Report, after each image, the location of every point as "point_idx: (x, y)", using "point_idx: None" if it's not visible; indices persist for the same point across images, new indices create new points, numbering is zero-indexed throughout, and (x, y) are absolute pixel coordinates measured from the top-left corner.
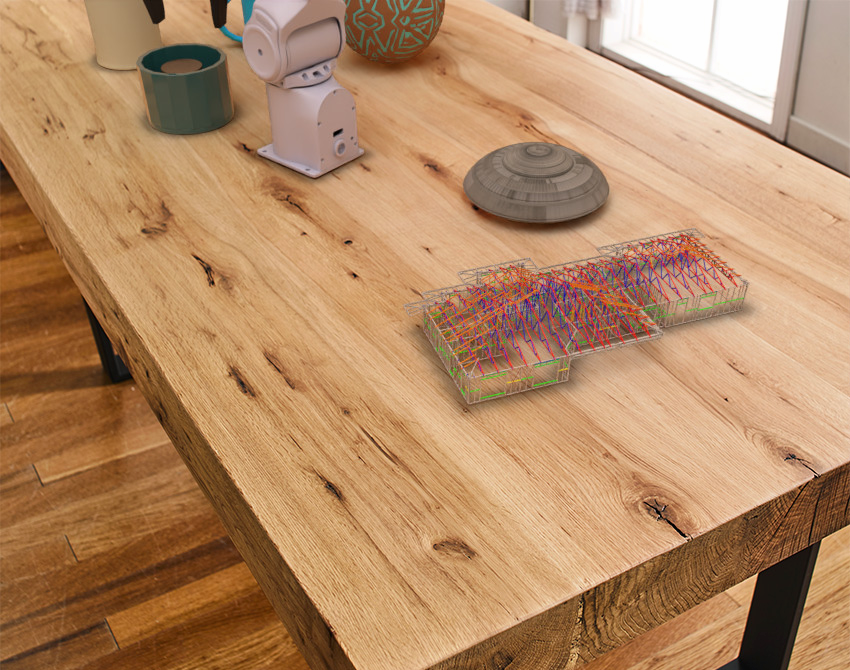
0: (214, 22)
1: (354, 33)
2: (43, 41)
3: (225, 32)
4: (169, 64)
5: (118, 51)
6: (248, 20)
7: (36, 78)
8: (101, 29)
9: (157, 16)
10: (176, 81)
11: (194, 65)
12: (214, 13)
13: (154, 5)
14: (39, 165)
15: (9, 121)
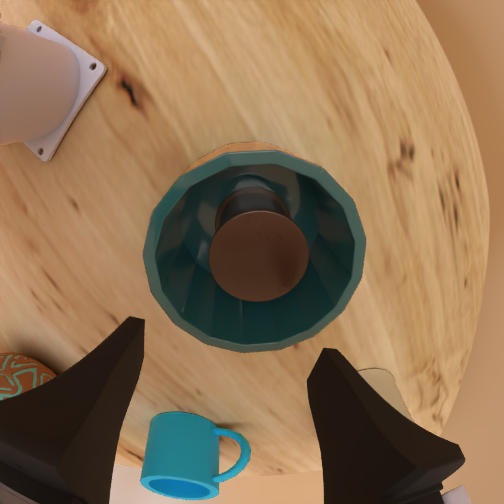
0: (136, 326)
1: (28, 379)
2: (431, 406)
3: (238, 436)
4: (290, 269)
5: (376, 386)
6: (206, 448)
7: (454, 336)
8: (399, 406)
9: (326, 365)
10: (252, 149)
11: (227, 262)
12: (120, 339)
13: (336, 388)
14: (446, 70)
15: (488, 220)
